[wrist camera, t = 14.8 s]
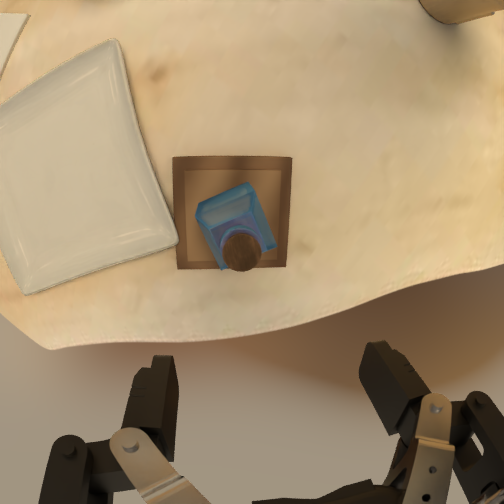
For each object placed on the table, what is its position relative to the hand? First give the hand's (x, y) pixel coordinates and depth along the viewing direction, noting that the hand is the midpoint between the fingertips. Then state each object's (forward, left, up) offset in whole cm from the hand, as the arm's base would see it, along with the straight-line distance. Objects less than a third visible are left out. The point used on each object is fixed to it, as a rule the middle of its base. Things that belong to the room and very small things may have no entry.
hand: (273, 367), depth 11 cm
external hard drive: (+37, -28, -29) cm, 54 cm away
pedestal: (0, 0, -28) cm, 28 cm away
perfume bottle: (0, 0, -26) cm, 26 cm away
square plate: (+23, -6, -29) cm, 37 cm away
